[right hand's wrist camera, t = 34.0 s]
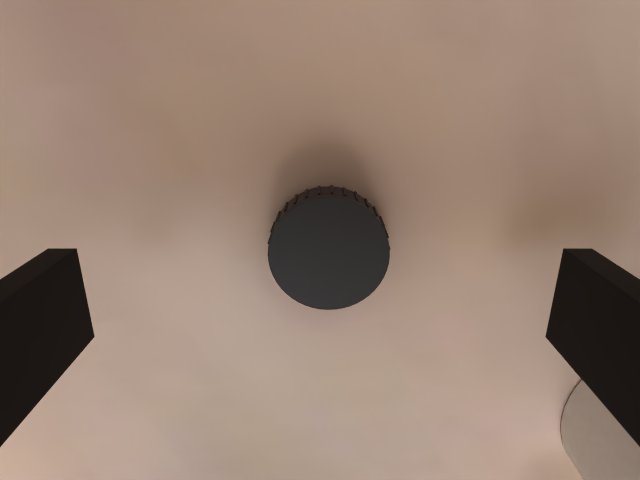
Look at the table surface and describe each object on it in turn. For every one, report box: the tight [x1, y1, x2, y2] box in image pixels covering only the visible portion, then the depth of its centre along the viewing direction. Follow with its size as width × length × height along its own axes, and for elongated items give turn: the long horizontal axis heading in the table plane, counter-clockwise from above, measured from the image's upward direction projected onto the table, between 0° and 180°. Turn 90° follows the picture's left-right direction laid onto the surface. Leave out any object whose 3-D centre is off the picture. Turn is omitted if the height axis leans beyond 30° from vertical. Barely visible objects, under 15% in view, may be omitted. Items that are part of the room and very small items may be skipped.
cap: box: [268, 185, 390, 310], centre depth 16 cm, size 4×4×2 cm
